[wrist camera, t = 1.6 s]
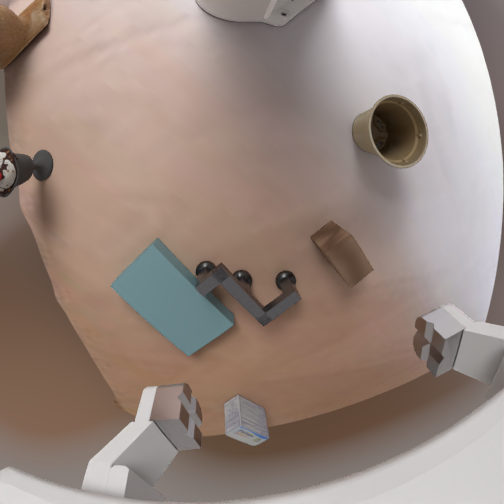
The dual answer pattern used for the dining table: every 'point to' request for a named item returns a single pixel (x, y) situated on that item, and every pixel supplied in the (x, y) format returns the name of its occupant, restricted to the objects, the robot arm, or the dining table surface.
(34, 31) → the tan hollow bent piece
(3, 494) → the robot arm
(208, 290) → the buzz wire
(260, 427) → the medicine box
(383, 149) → the flower pot
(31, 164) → the sundae
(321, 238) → the walnut block
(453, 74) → the dining table surface
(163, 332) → the platform
